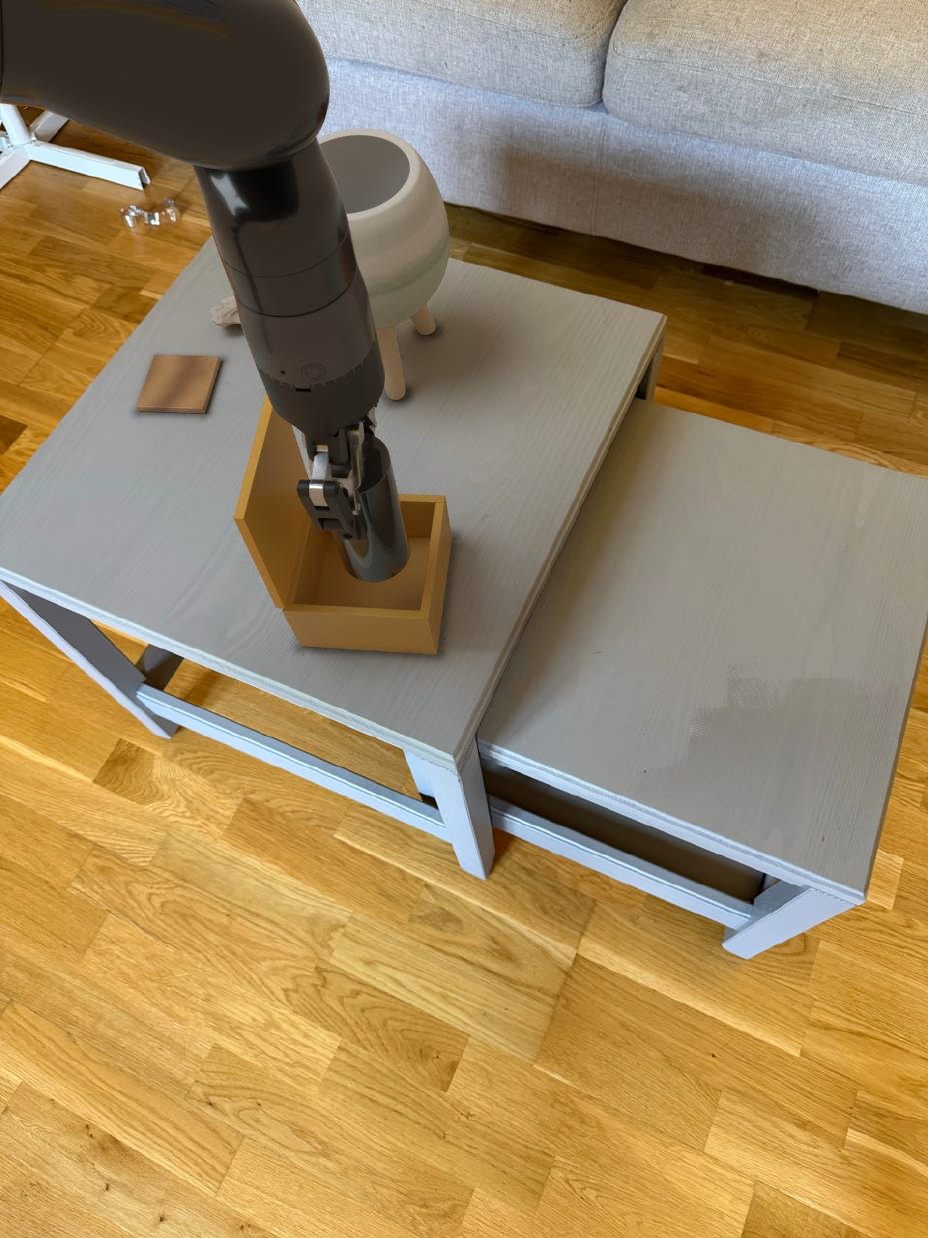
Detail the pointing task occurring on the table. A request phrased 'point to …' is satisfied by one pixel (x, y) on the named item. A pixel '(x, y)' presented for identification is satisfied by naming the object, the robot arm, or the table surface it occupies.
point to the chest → (373, 588)
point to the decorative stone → (225, 312)
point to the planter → (391, 232)
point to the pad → (179, 384)
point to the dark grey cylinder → (376, 520)
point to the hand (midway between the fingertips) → (360, 499)
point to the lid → (272, 502)
